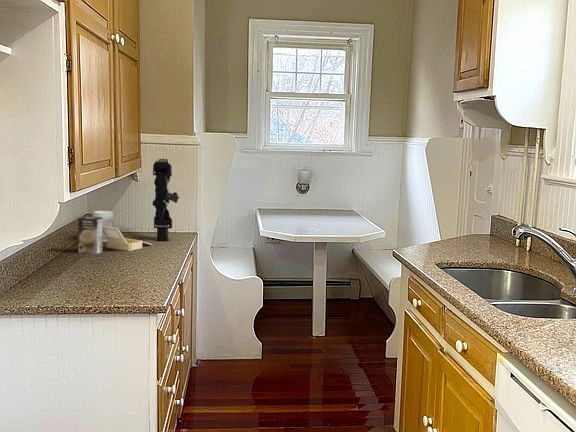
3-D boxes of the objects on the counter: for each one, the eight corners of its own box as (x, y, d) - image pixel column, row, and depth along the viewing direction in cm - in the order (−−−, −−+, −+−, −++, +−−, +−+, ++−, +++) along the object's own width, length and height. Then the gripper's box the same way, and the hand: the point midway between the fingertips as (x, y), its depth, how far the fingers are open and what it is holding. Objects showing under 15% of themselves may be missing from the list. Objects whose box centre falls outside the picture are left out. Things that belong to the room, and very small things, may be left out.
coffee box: (77, 253, 270) (77, 217, 268) (84, 250, 277) (83, 215, 274) (97, 254, 270) (97, 218, 267) (103, 251, 276) (102, 216, 274)
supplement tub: (89, 241, 298) (88, 212, 296) (101, 238, 307) (101, 210, 305) (105, 243, 295) (105, 213, 293) (117, 240, 304) (117, 211, 302)
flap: (98, 225, 277) (97, 225, 276) (117, 227, 271) (116, 228, 271) (108, 239, 283) (107, 240, 283) (127, 242, 277) (126, 243, 277)
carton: (131, 242, 300) (131, 234, 299) (154, 245, 293) (154, 238, 292) (105, 247, 284) (105, 239, 284) (129, 251, 277) (129, 243, 277)
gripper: (176, 188, 282) (176, 221, 284) (179, 186, 301) (179, 217, 302) (152, 188, 281) (152, 221, 282) (157, 186, 299) (157, 217, 301)
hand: (161, 219), depth 292 cm, fingers closed
